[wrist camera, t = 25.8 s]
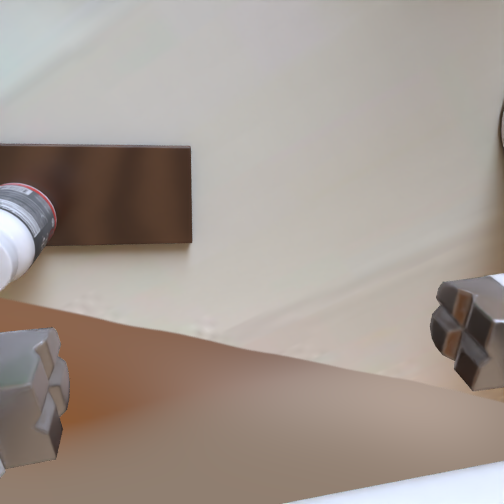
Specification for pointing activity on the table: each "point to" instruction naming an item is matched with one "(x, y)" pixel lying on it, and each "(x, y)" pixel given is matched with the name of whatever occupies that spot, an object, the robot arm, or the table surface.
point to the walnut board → (108, 190)
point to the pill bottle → (22, 229)
